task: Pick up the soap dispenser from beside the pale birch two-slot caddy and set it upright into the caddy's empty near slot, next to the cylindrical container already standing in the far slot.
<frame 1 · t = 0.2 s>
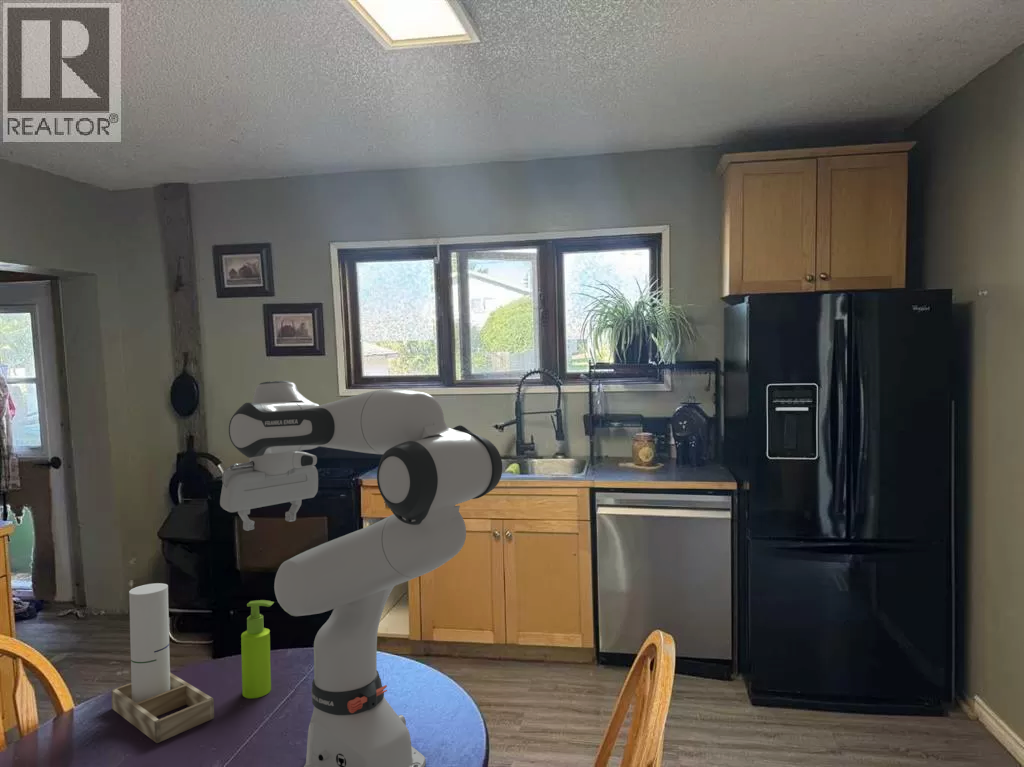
hand: (270, 525, 131), 39 cm above the table, tool pointing down, fingers open, 8 cm apart
caddy: (162, 713, 132), on the table
cylindrical container: (151, 706, 135), resting in caddy
soap dispenser: (259, 692, 141), on the table
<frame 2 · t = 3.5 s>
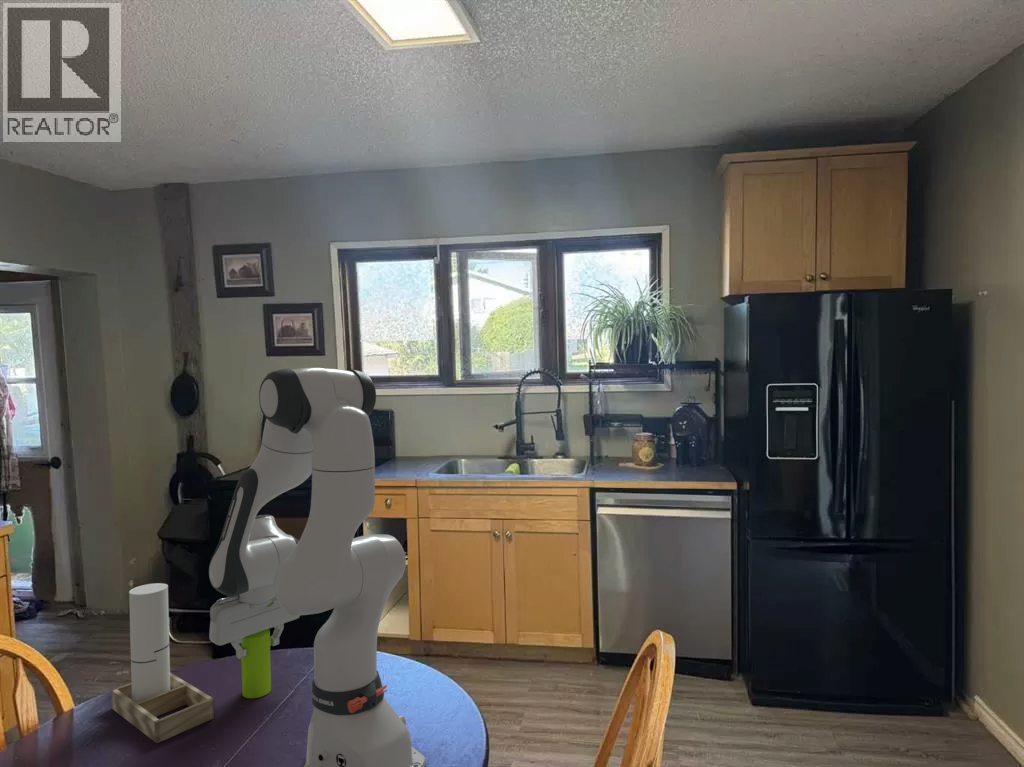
hand: (258, 650, 141), 9 cm above the table, tool pointing down, fingers open, 6 cm apart
soap dispenser: (259, 692, 141), on the table, touching gripper
everything else where it was.
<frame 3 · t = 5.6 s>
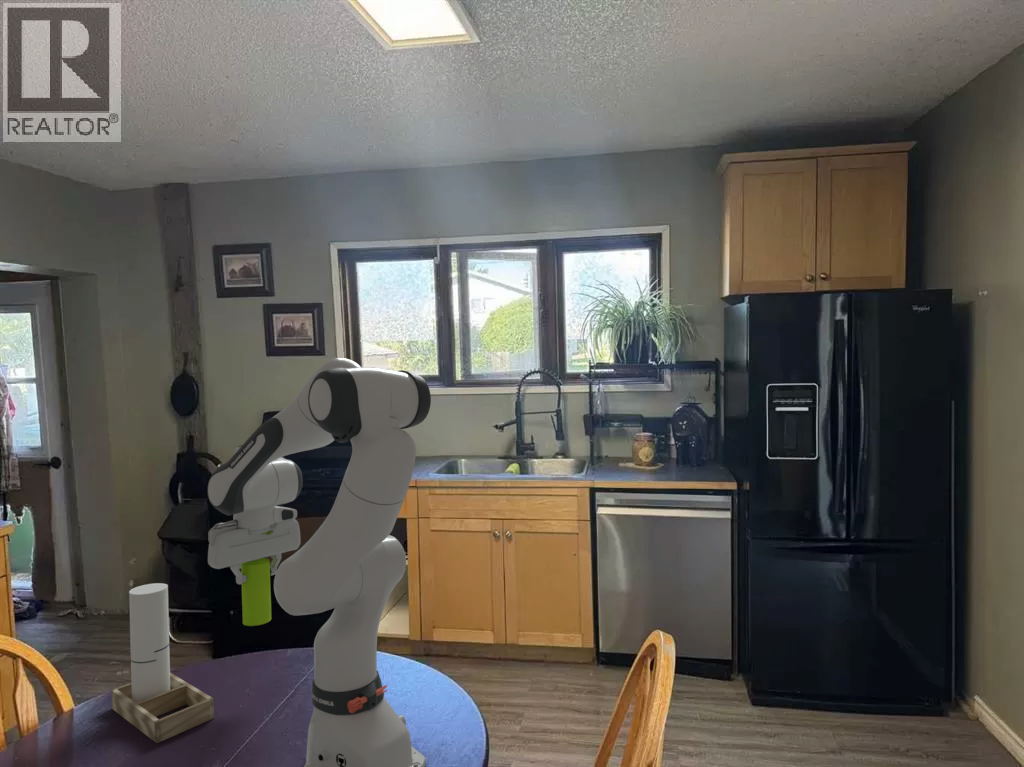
hand: (257, 578, 140), 25 cm above the table, tool pointing down, fingers closed on soap dispenser, 6 cm apart
soap dispenser: (259, 621, 141), point 15 cm above the table, touching gripper
everything else where it was.
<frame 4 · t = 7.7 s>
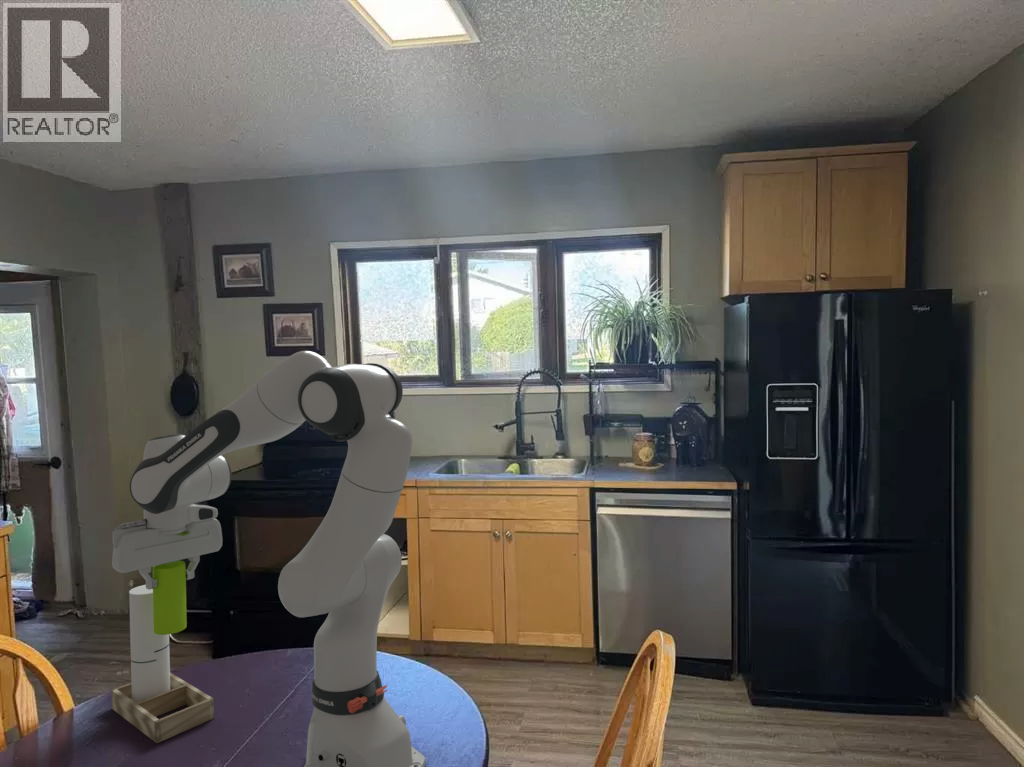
hand: (170, 583, 129), 28 cm above the table, tool pointing down, fingers closed on soap dispenser, 6 cm apart
soap dispenser: (173, 630, 129), point 18 cm above the table, touching gripper
everything else where it was.
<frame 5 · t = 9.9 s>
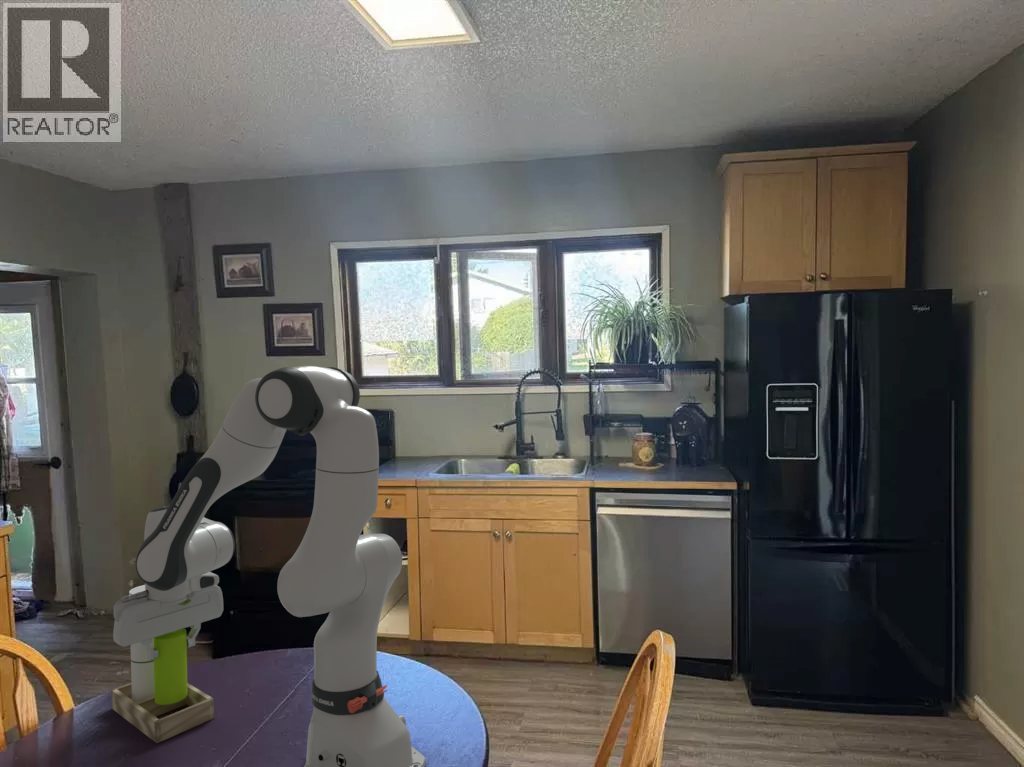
hand: (171, 652, 129), 14 cm above the table, tool pointing down, fingers closed on soap dispenser, 6 cm apart
soap dispenser: (173, 698, 129), point 4 cm above the table, touching gripper
everything else where it was.
when the fingers open (11 cm above the table, at t = 11.7 s): soap dispenser drops 1 cm, resting in caddy.
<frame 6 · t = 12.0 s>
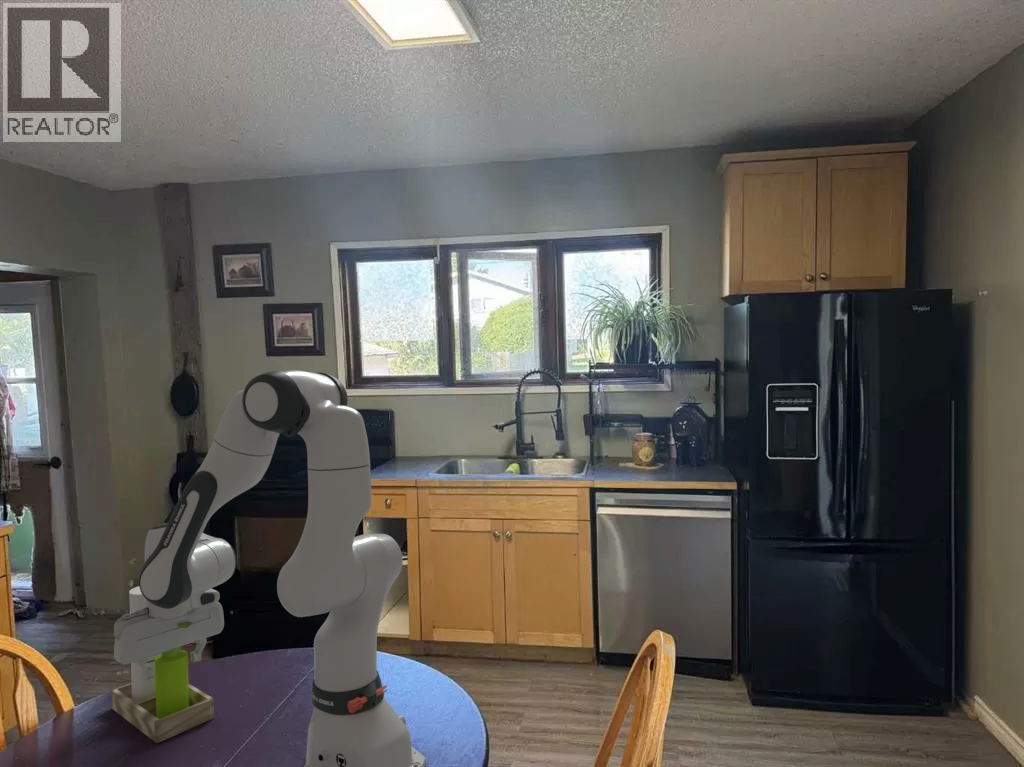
hand: (172, 669, 129), 11 cm above the table, tool pointing down, fingers open, 8 cm apart
soap dispenser: (175, 721, 129), resting in caddy
everything else where it was.
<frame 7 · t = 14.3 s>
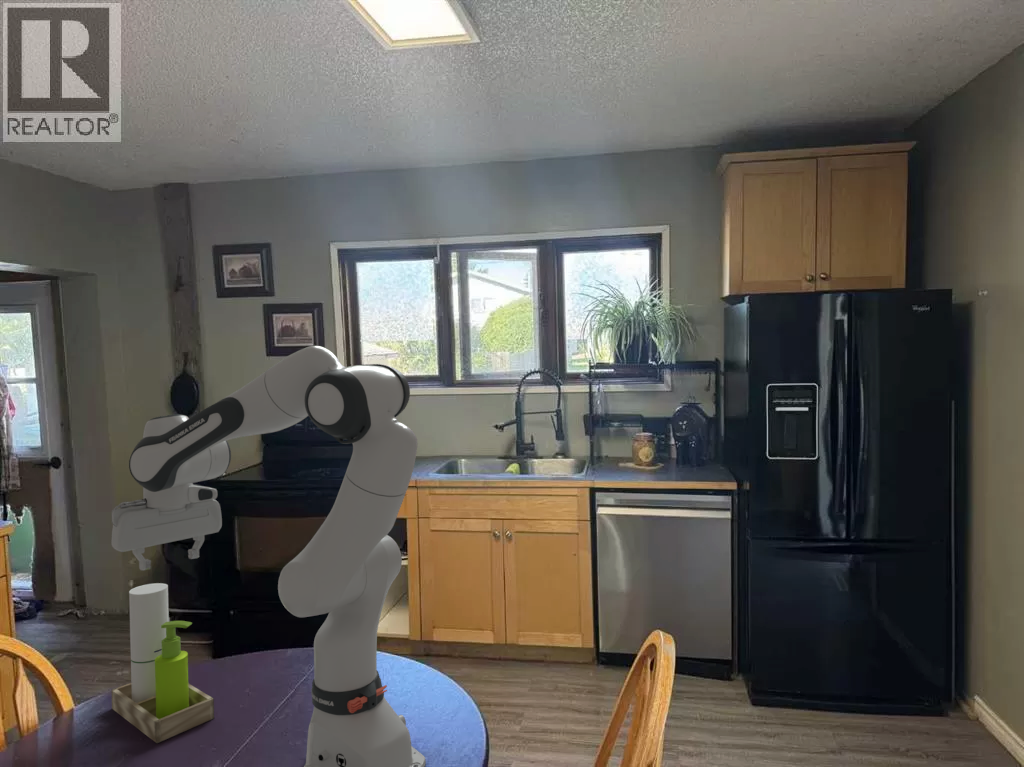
hand: (170, 563, 129), 32 cm above the table, tool pointing down, fingers open, 8 cm apart
nothing on the table moved.
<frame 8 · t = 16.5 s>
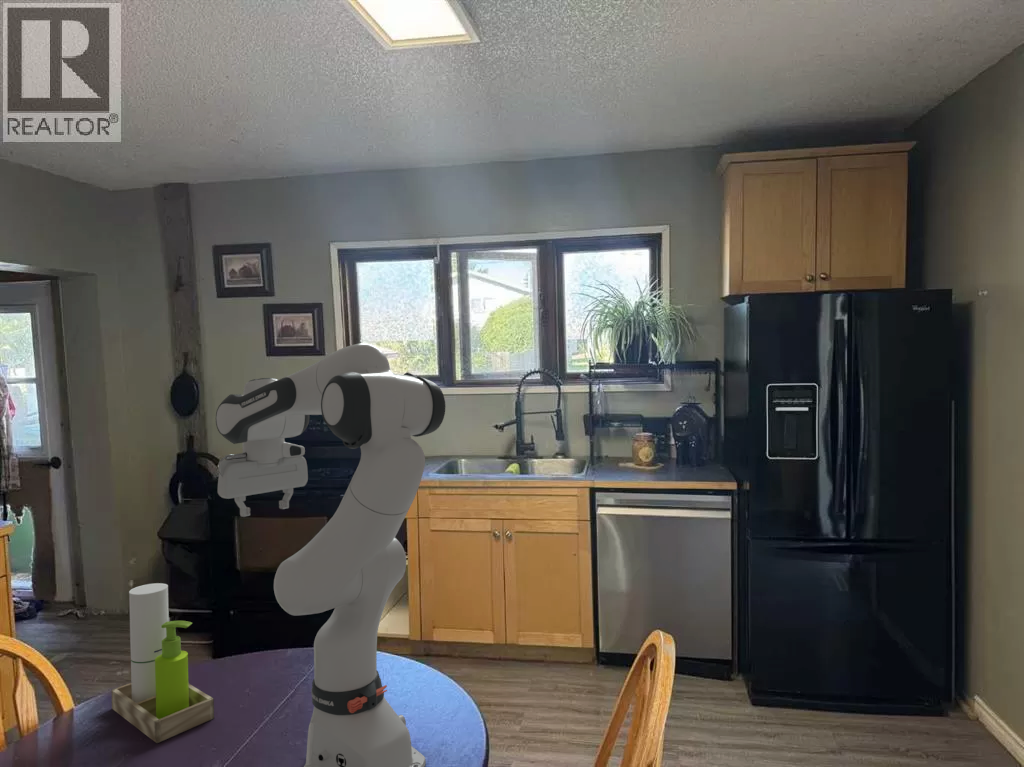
hand: (265, 512, 143), 39 cm above the table, tool pointing down, fingers open, 8 cm apart
nothing on the table moved.
at the end: soap dispenser 0.4 cm from the target spot, resting in caddy; soap dispenser tilted 0°; the gripper is holding nothing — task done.
